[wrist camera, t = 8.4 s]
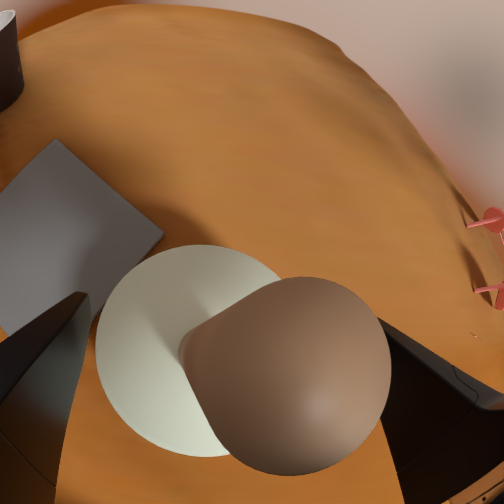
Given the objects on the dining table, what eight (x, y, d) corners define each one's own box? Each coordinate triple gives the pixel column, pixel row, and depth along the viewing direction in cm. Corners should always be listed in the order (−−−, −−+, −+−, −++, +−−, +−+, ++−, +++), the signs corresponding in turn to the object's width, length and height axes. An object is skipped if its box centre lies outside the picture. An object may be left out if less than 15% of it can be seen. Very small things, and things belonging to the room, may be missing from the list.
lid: (183, 483, 13) (230, 654, 1) (63, 315, 14) (-108, 241, 2) (336, 370, 17) (528, 369, 5) (231, 216, 19) (326, 41, 7)
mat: (50, 379, 16) (47, 380, 15) (-42, 256, 15) (-45, 254, 15) (164, 234, 21) (164, 232, 21) (57, 141, 21) (55, 137, 20)
